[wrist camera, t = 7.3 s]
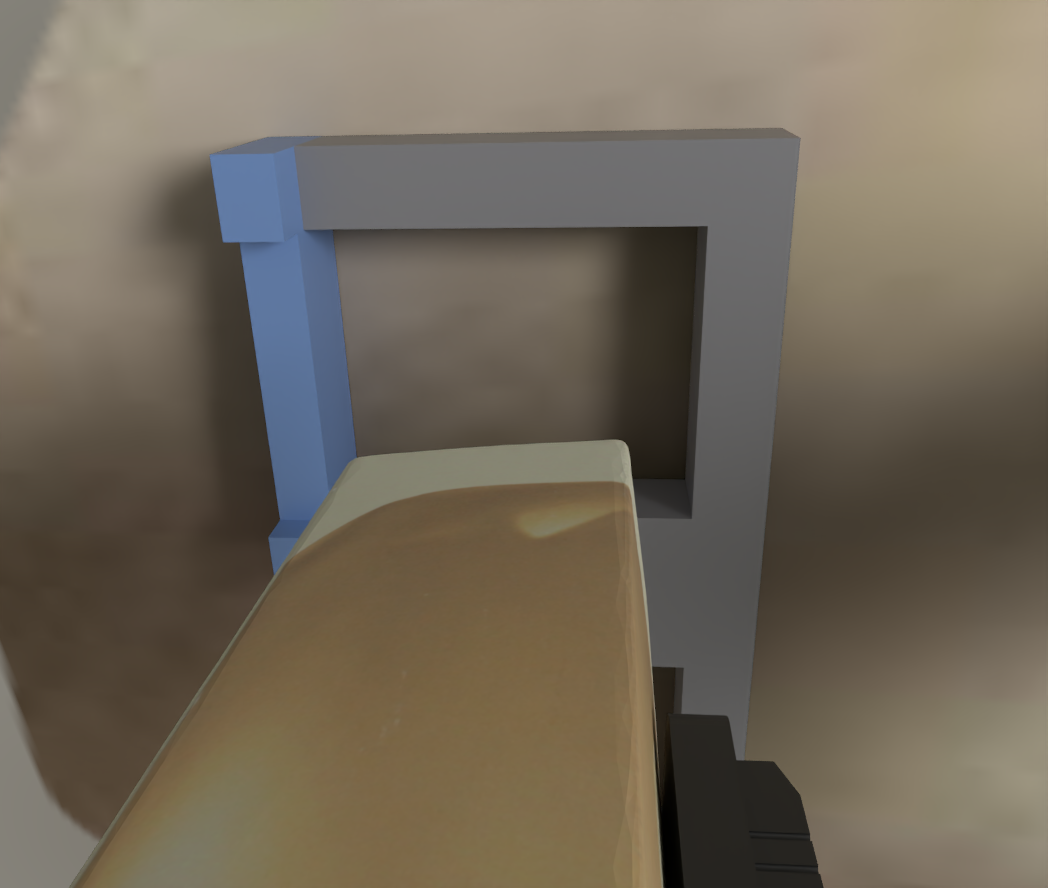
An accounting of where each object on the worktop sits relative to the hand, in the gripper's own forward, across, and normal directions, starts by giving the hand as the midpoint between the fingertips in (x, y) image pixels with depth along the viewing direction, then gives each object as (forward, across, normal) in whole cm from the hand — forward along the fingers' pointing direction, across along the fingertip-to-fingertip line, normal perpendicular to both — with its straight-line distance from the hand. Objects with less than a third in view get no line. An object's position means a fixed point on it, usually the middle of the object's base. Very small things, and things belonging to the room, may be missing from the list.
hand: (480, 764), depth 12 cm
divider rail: (+17, +1, +6) cm, 18 cm away
